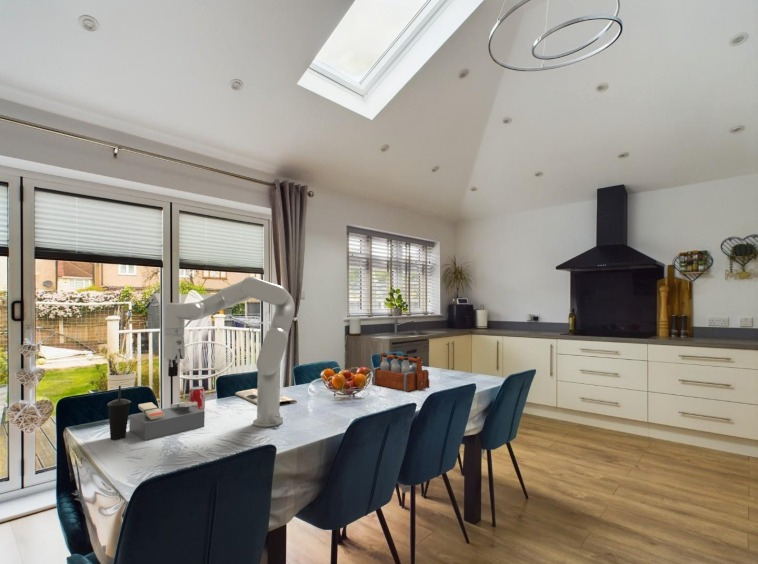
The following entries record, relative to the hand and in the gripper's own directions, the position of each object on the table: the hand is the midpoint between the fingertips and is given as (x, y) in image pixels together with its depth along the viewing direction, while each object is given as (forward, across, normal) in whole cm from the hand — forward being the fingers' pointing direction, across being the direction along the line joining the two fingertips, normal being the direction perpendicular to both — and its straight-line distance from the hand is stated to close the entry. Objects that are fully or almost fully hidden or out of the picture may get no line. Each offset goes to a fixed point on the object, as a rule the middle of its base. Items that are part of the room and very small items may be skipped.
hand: (172, 376), depth 169 cm
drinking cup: (+22, +3, +18) cm, 29 cm away
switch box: (+22, +3, +1) cm, 22 cm away
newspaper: (+22, +14, -55) cm, 61 cm away
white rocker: (+13, +1, -5) cm, 14 cm away
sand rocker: (+13, +1, +8) cm, 15 cm away
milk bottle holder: (+21, -18, -131) cm, 134 cm away
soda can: (+22, +15, -17) cm, 32 cm away
